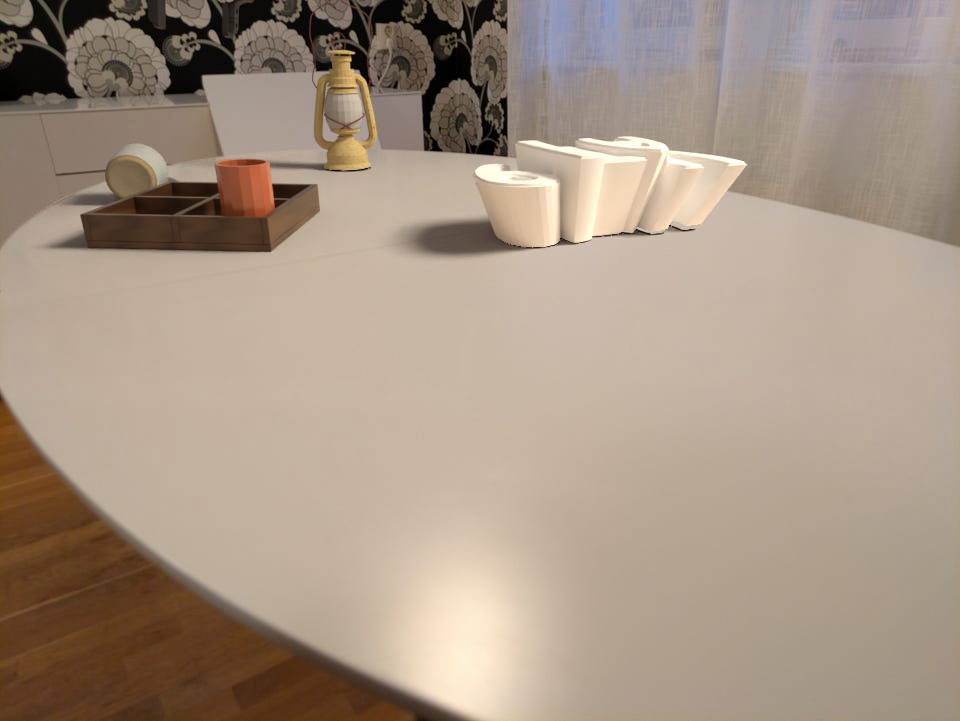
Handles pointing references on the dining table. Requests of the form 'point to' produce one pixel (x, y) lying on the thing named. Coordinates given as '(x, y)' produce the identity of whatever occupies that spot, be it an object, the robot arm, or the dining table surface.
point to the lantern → (343, 110)
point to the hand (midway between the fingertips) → (193, 32)
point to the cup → (245, 187)
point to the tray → (197, 219)
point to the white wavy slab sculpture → (600, 189)
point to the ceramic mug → (136, 170)
